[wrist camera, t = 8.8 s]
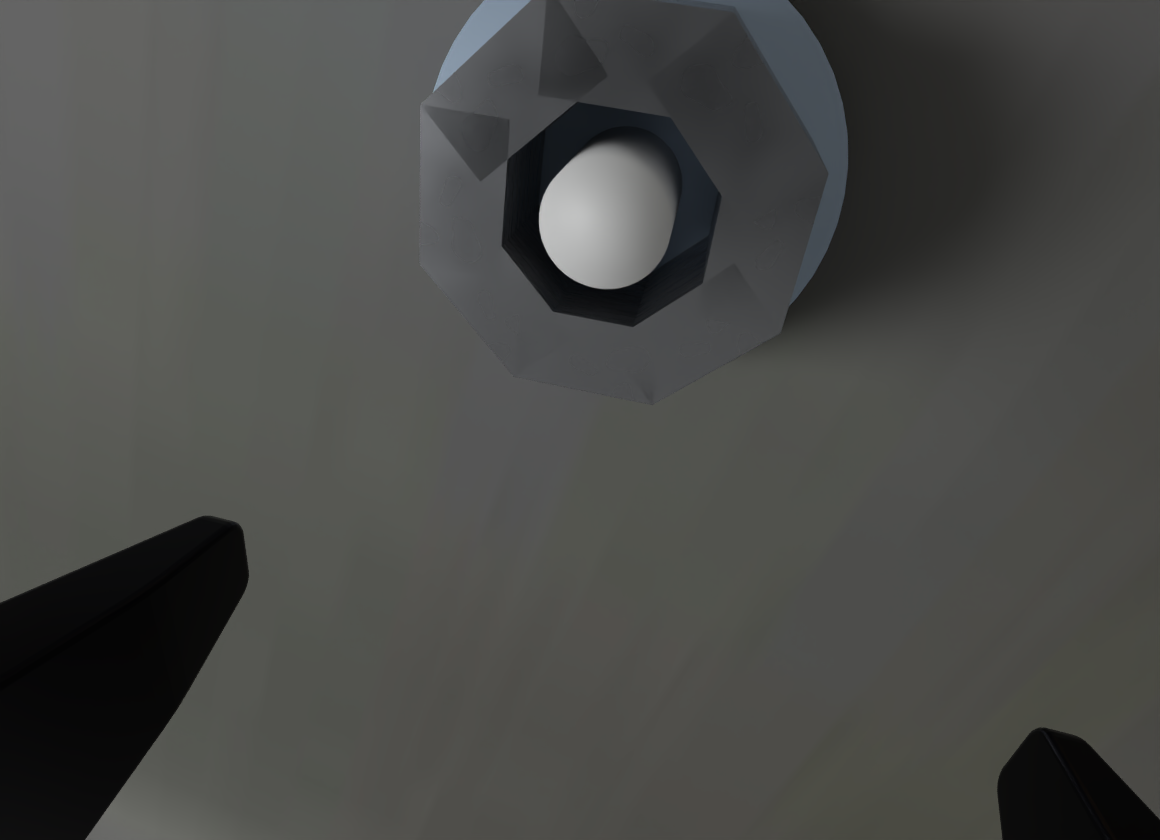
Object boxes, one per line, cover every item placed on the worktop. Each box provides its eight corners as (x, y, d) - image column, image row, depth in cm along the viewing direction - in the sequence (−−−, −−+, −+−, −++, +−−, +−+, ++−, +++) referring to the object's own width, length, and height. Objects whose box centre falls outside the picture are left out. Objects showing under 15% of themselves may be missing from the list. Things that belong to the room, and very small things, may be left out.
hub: (897, -27, 14) (963, -29, 10) (775, 369, 19) (785, 478, 15) (462, -92, 15) (357, -119, 11) (448, 304, 20) (372, 390, 16)
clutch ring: (845, 23, 13) (870, 33, 11) (750, 359, 17) (753, 425, 15) (479, -32, 14) (421, -36, 11) (464, 304, 18) (418, 357, 15)
